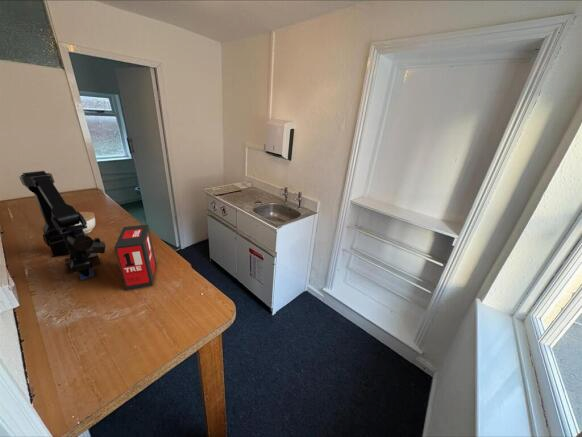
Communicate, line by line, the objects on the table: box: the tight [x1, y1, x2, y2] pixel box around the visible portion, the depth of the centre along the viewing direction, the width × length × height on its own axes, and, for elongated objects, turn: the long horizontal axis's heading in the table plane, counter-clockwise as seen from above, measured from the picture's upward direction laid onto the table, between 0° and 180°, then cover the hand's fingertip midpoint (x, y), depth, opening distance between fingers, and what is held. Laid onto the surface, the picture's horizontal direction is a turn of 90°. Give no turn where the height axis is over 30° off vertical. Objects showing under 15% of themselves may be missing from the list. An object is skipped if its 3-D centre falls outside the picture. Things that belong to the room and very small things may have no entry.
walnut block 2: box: [88, 253, 101, 266], centre depth 104 cm, size 4×4×4 cm
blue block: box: [77, 267, 95, 281], centre depth 97 cm, size 4×4×4 cm
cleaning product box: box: [114, 224, 157, 291], centre depth 96 cm, size 16×9×20 cm, turn 23°
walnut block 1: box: [64, 257, 73, 273], centre depth 100 cm, size 4×4×4 cm
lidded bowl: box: [75, 211, 97, 234], centre depth 127 cm, size 13×13×11 cm
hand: (86, 273), depth 97 cm, fingers closed on blue block, 4 cm apart
